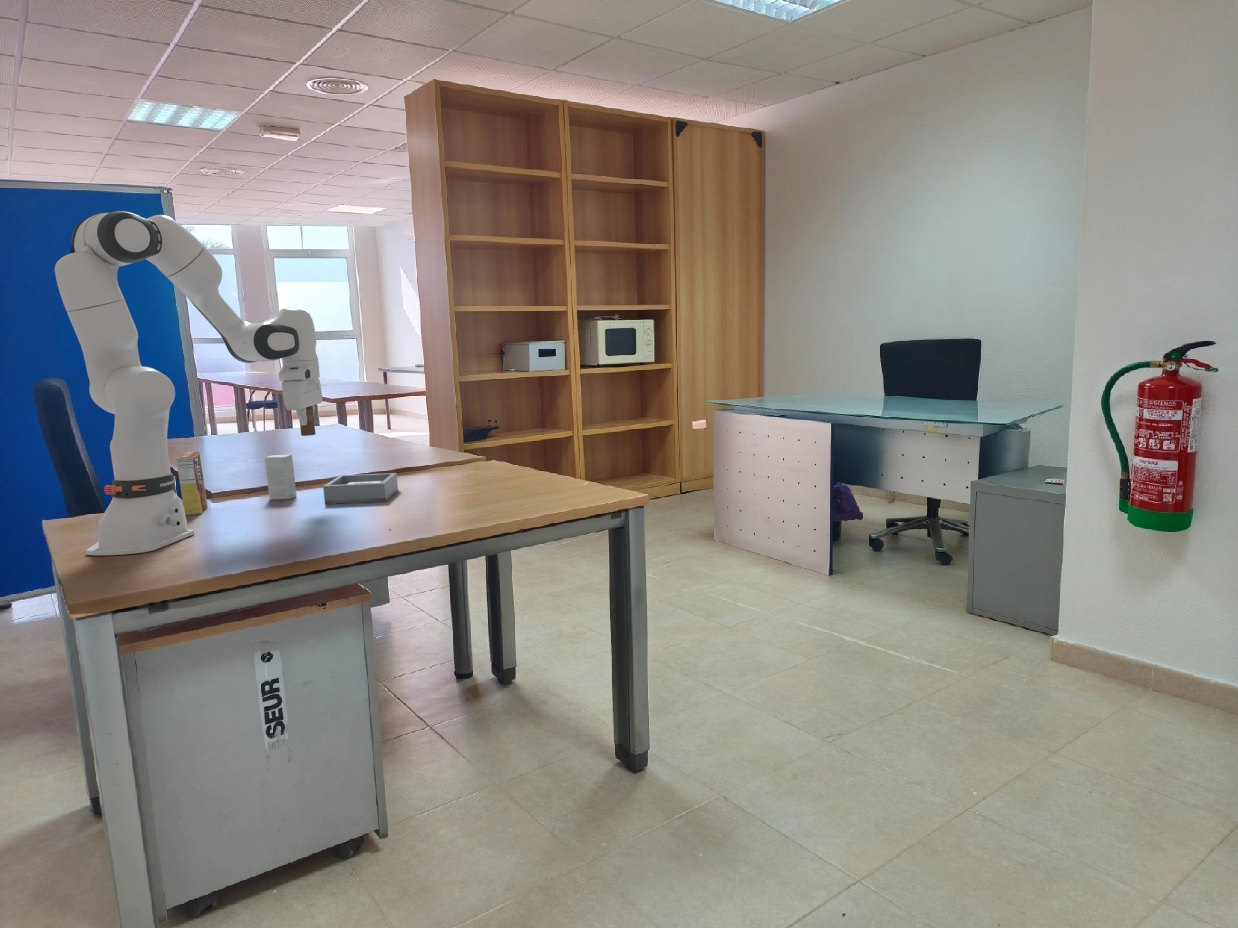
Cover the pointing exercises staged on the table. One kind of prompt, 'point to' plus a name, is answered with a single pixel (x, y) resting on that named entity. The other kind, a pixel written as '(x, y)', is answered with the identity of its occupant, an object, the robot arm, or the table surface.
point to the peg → (310, 427)
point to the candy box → (191, 483)
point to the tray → (360, 488)
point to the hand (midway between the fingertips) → (307, 423)
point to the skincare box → (280, 477)
